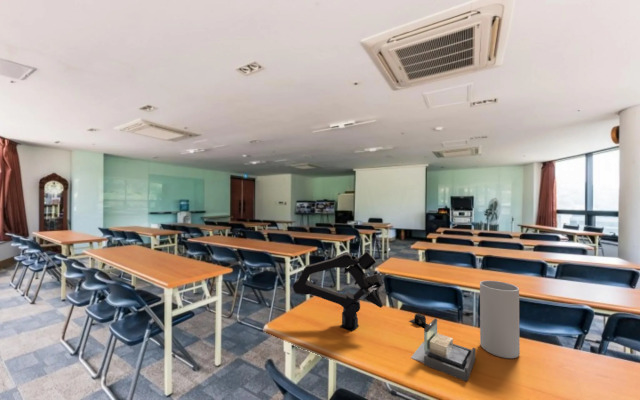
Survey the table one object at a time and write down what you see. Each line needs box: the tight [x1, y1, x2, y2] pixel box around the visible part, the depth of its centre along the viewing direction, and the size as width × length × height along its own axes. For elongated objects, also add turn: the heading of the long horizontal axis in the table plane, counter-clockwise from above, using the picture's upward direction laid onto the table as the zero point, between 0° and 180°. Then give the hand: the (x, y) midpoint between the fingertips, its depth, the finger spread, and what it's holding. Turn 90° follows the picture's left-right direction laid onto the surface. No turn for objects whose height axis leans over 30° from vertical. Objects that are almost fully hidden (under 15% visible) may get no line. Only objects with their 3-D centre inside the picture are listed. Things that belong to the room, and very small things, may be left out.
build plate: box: [408, 312, 430, 330], centre depth 121 cm, size 12×7×5 cm, turn 33°
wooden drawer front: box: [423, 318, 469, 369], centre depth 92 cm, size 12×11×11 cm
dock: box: [410, 341, 476, 382], centre depth 93 cm, size 19×16×5 cm
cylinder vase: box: [479, 280, 521, 359], centre depth 99 cm, size 12×12×25 cm
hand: (381, 307), depth 109 cm, fingers closed
